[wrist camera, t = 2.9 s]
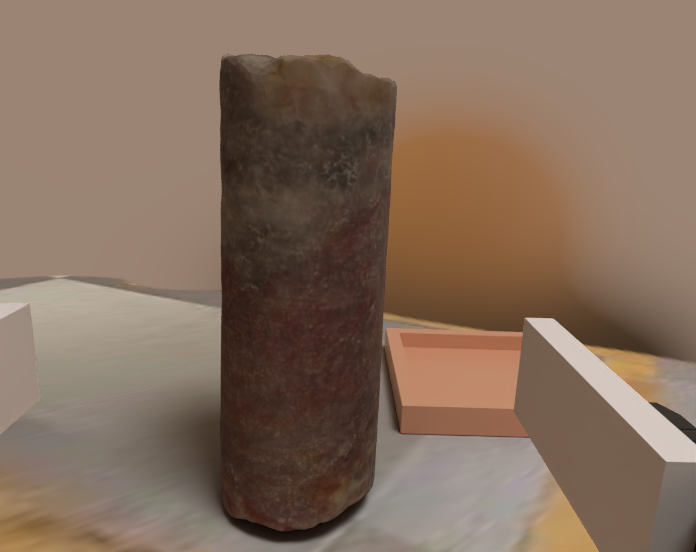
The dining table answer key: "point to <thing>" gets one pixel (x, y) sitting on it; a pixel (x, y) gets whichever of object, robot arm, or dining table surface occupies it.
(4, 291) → the dining table surface
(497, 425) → the dish
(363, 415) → the candle
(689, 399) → the dining table surface
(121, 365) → the dining table surface
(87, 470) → the dining table surface
